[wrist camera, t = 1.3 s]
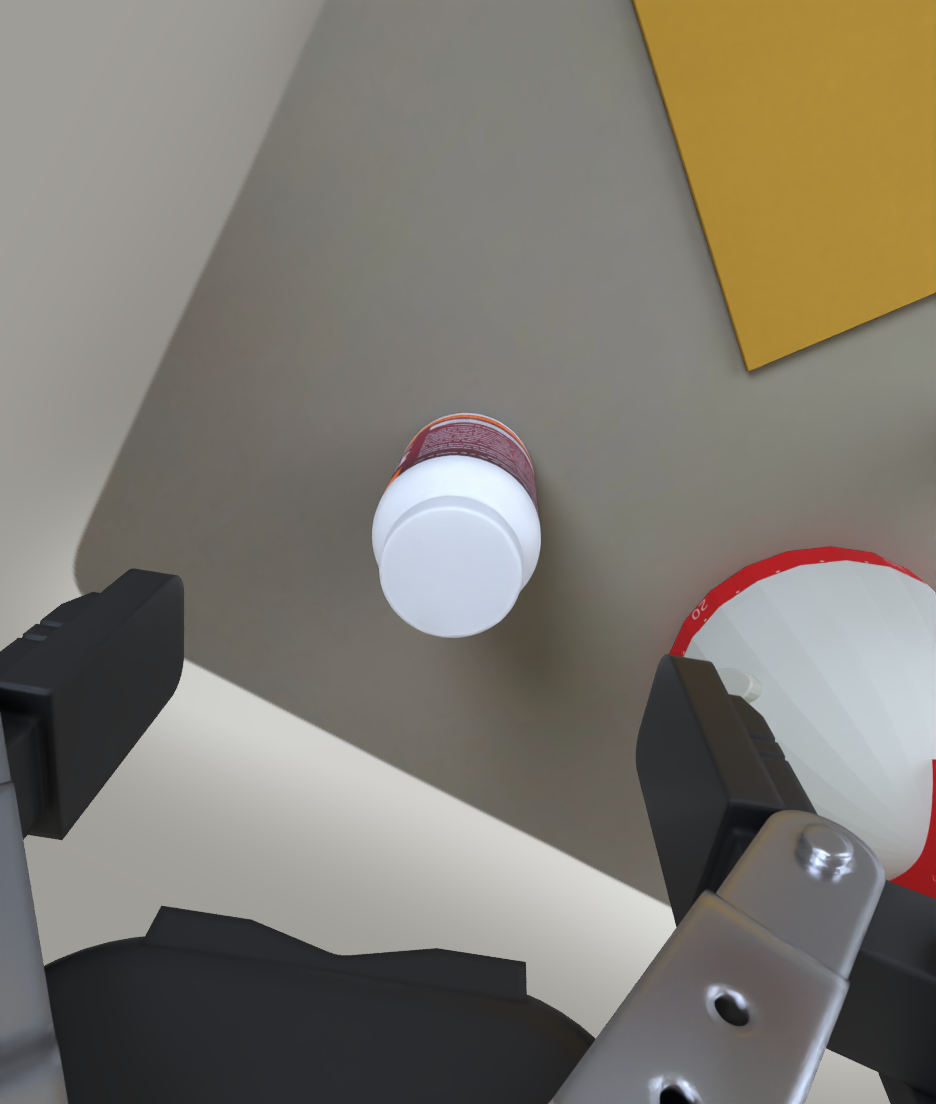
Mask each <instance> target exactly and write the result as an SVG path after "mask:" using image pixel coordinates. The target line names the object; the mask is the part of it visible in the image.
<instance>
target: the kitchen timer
mask: <svg viewBox="0 0 936 1104" xmlns="http://www.w3.org/2000/svg"><path fill="white" fill-rule="evenodd" d="M669 655H674V656H680V657H686V658H693V659H699V660H705V661H710V662H712V663H713V665H714V666H715V668H716V670H717V672H718V674H719V676H720V678H721V680H722V682H723V684H724V686H725V688H726V690H727V692H728V694H732V695H738V696H741V697H742V698H743V699H744V700H745V701H747V702H748V703H749V704H750V705H751V706H752V707H753V708H754V709H755V710H757V711H758V712H759V713H760V714H761V715H762V716H763V717H764V719H765V721H766V722H767V724H768V726H769V728H770V729H771V731H772V733H773V735H774V737H775V742H778V744H779V746H780V747H781V749H782V751H783V753H784V755H785V760H786V761H788V762H789V764H790V765H791V767H792V769H793V771H794V773H795V774H796V776H797V778H798V780H799V782H800V783H801V785H802V787H803V789H804V791H805V792H806V794H807V796H808V798H809V800H810V801H811V803H812V805H813V807H814V808H815V810H816V812H817V814H818V815H820V816H822V817H825V818H827V819H830V820H832V821H834V822H836V823H838V824H840V825H841V826H843V827H845V828H846V829H848V830H849V831H851V832H852V833H854V834H855V835H856V836H858V837H859V838H860V839H861V840H862V841H864V842H865V843H866V844H867V845H868V846H869V847H870V848H871V849H872V851H873V852H874V853H875V854H876V856H877V857H878V859H879V860H880V862H881V864H882V866H883V869H884V871H885V878H886V880H888V881H891V882H893V883H896V884H898V885H900V886H903V887H905V888H908V889H911V890H913V891H916V892H919V893H921V894H924V895H926V896H929V897H932V898H934V899H936V593H935V592H934V591H933V590H932V589H931V588H930V587H929V586H928V585H927V584H926V583H925V582H923V581H922V580H921V579H919V578H918V577H917V576H916V575H914V574H913V573H912V572H910V571H909V570H908V569H906V568H904V567H902V566H899V565H897V564H895V563H893V562H891V561H889V560H887V559H885V558H882V557H880V556H878V555H876V554H874V553H871V552H864V551H857V550H851V549H844V548H837V547H822V548H813V549H804V550H795V551H787V552H784V553H782V554H779V555H776V556H774V557H771V558H768V559H766V560H763V561H760V562H757V563H755V564H752V565H749V566H747V567H745V568H743V569H742V570H740V571H739V572H738V573H736V574H735V575H733V576H732V577H730V578H729V579H727V580H726V581H724V582H723V583H722V584H720V585H719V586H717V587H716V588H714V589H713V590H711V591H710V592H709V593H708V595H707V596H706V597H705V598H704V599H703V600H702V601H701V603H700V604H699V605H698V606H697V607H696V608H695V610H694V611H693V612H692V613H691V614H690V615H689V617H688V618H687V619H686V620H685V621H684V623H683V625H682V628H681V630H680V632H679V634H678V636H677V638H676V641H675V643H674V645H673V647H672V649H671V652H670V654H669Z"/></svg>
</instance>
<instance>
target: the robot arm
mask: <svg viewBox="0 0 936 1104" xmlns="http://www.w3.org/2000/svg"><path fill="white" fill-rule="evenodd" d="M183 661H184V586H183V582H182V579H181V578H180V577H179V576H178V575H171V574H165V573H159V572H153V571H146V570H140V569H130V570H128V571H127V572H126V573H124V574H123V575H122V576H121V577H119V578H118V579H117V580H116V581H115V582H113V583H112V584H111V585H110V586H109V587H107V588H106V589H105V590H104V591H102V592H101V593H96V592H91V593H89V594H86V595H84V596H81V597H79V598H76V599H73V600H71V601H68V602H66V603H63V604H61V605H60V606H59V607H57V608H56V609H55V610H53V611H52V612H51V613H50V614H48V615H47V616H46V617H44V618H43V619H42V620H41V622H40V624H35V625H34V626H33V627H32V628H30V629H29V630H28V631H27V632H25V633H24V634H23V637H22V638H17V639H16V640H15V641H14V642H12V643H11V644H10V645H8V646H7V647H6V648H5V649H3V650H2V651H1V652H0V1104H804V1103H805V1101H806V1098H807V1095H808V1093H809V1090H810V1087H811V1085H812V1082H813V1080H814V1077H815V1074H816V1072H817V1070H818V1067H819V1064H820V1061H821V1059H822V1057H823V1054H824V1051H825V1049H826V1048H827V1049H829V1050H831V1051H833V1052H835V1053H838V1054H840V1055H842V1056H844V1057H847V1058H849V1059H851V1060H853V1061H855V1062H857V1063H860V1064H862V1065H864V1066H866V1067H868V1068H870V1069H873V1070H875V1071H877V1072H878V1073H879V1076H880V1078H881V1081H882V1083H883V1086H884V1088H885V1091H886V1093H887V1096H888V1098H889V1101H890V1103H891V1104H936V899H934V898H932V897H929V896H926V895H924V894H921V893H919V892H916V891H913V890H911V889H908V888H905V887H903V886H900V885H898V884H896V883H893V882H891V881H888V880H886V878H885V871H884V869H883V866H882V864H881V862H880V860H879V859H878V857H877V856H876V854H875V853H874V852H873V851H872V849H871V848H870V847H869V846H868V845H867V844H866V843H865V842H864V841H862V840H861V839H860V838H859V837H858V836H856V835H855V834H854V833H852V832H851V831H849V830H848V829H846V828H845V827H843V826H841V825H840V824H838V823H836V822H834V821H832V820H830V819H827V818H825V817H822V816H820V815H818V814H817V812H816V810H815V808H814V807H813V805H812V803H811V801H810V800H809V798H808V796H807V794H806V792H805V791H804V789H803V787H802V785H801V783H800V782H799V780H798V778H797V776H796V774H795V773H794V771H793V769H792V767H791V765H790V764H789V762H788V761H786V760H785V755H784V753H783V751H782V749H781V747H780V746H779V744H778V742H775V737H774V735H773V733H772V731H771V729H770V728H769V726H768V724H767V722H766V721H765V719H764V717H763V716H762V715H761V714H760V713H759V712H758V711H757V710H755V709H754V708H753V707H752V706H751V705H750V704H749V703H748V702H747V701H745V700H744V699H743V698H742V697H741V696H738V695H732V694H728V692H727V690H726V688H725V686H724V684H723V682H722V680H721V678H720V676H719V674H718V672H717V670H716V668H715V666H714V665H713V663H712V662H710V661H705V660H699V659H693V658H686V657H680V656H674V655H667V654H666V655H664V656H663V657H662V659H661V661H660V663H659V665H658V668H657V671H656V675H655V678H654V682H653V685H652V688H651V692H650V695H649V699H648V702H647V706H646V709H645V713H644V716H643V719H642V723H641V726H640V730H639V734H638V739H637V746H636V767H637V773H638V776H639V780H640V784H641V788H642V792H643V796H644V800H645V804H646V808H647V812H648V816H649V820H650V824H651V828H652V832H653V836H654V840H655V844H656V848H657V852H658V856H659V860H660V864H661V868H662V872H663V876H664V880H665V884H666V888H667V892H668V895H669V899H670V903H671V907H672V911H673V915H674V919H675V923H676V927H677V928H676V929H675V931H674V932H673V933H672V935H671V936H670V938H669V939H668V940H667V942H666V943H665V944H664V946H663V947H662V949H661V950H660V951H659V953H658V954H657V955H656V957H655V958H654V960H653V961H652V962H651V964H650V965H649V966H648V968H647V969H646V971H645V972H644V973H643V975H642V976H641V978H640V979H639V980H638V982H637V983H636V984H635V986H634V987H633V989H632V990H631V991H630V993H629V994H628V995H627V997H626V998H625V1000H624V1001H623V1002H622V1004H621V1005H620V1006H619V1008H618V1009H617V1011H616V1012H615V1013H614V1015H613V1016H612V1017H611V1019H610V1020H609V1022H608V1023H607V1024H606V1026H605V1027H604V1028H603V1030H602V1031H601V1033H600V1034H599V1035H598V1037H597V1038H596V1039H595V1038H594V1037H593V1036H592V1035H591V1034H589V1033H588V1032H587V1031H586V1030H585V1029H584V1028H582V1027H581V1026H580V1025H579V1024H577V1023H576V1022H575V1021H573V1020H572V1019H570V1018H569V1017H567V1016H566V1015H565V1014H563V1013H562V1012H560V1011H559V1010H557V1009H555V1008H553V1007H551V1006H549V1005H548V1004H546V1003H544V1002H542V1001H541V1000H538V999H536V998H534V997H532V996H529V995H527V994H526V993H527V992H526V962H522V961H515V960H509V959H502V958H496V957H490V956H483V955H477V954H470V953H464V952H457V951H451V950H444V949H437V948H435V949H423V950H410V951H398V952H385V953H374V954H362V955H350V956H349V955H346V956H345V955H336V954H333V953H329V952H327V951H325V950H322V949H320V948H318V947H315V946H313V945H311V944H308V943H306V942H303V941H301V940H299V939H296V938H294V937H291V936H289V935H287V934H284V933H282V932H279V931H277V930H275V929H272V928H270V927H267V926H265V925H263V924H260V923H258V922H256V921H253V920H250V919H244V918H237V917H231V916H223V915H217V914H210V913H204V912H198V911H191V910H185V909H179V908H172V907H166V906H161V908H160V910H159V911H158V913H157V915H156V917H155V919H154V921H153V923H152V925H151V926H150V928H149V930H148V932H147V934H146V936H145V937H135V938H128V939H123V940H118V941H112V942H107V943H104V944H100V945H97V946H93V947H90V948H86V949H83V950H80V951H78V952H75V953H73V954H70V955H67V956H65V957H62V958H60V959H57V960H55V961H53V962H51V963H49V964H47V965H45V966H44V965H43V959H42V953H41V947H40V940H39V934H38V928H37V922H36V916H35V910H34V903H33V898H32V892H31V885H30V879H29V873H28V867H27V861H26V854H25V849H24V842H23V840H24V838H25V837H26V836H27V835H33V836H39V837H46V838H52V839H59V840H63V838H64V837H65V836H66V834H67V833H68V832H69V830H70V829H71V828H72V827H73V825H74V824H75V823H76V821H77V820H78V819H79V817H80V816H81V814H82V813H83V812H84V811H85V809H86V808H87V807H88V806H89V804H90V803H91V802H92V800H93V799H94V797H95V796H96V795H97V794H98V793H99V791H100V790H101V788H102V787H103V786H104V784H105V783H106V782H107V781H108V779H109V778H110V777H111V775H112V774H113V773H114V772H115V770H116V769H117V768H118V766H119V765H120V764H121V762H122V761H123V760H124V759H125V757H126V756H127V755H128V753H129V752H130V751H131V749H132V748H133V747H134V745H135V744H136V743H137V742H138V740H139V739H140V738H141V736H142V735H143V733H144V732H145V731H146V730H147V728H148V727H149V726H150V725H151V723H152V722H153V721H154V719H155V718H156V717H157V715H158V714H159V713H160V711H161V710H162V708H164V706H165V705H166V704H167V702H168V701H169V700H170V698H171V697H172V696H173V694H174V692H175V690H176V688H177V686H178V683H179V681H180V677H181V673H182V668H183Z"/></svg>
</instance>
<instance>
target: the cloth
mask: <svg viewBox="0 0 936 1104" xmlns="http://www.w3.org/2000/svg"><path fill="white" fill-rule="evenodd" d="M632 2H633V5H634V8H635V12H636V15H637V18H638V21H639V25H640V28H641V31H642V34H643V37H644V41H645V44H646V47H647V50H648V54H649V57H650V60H651V63H652V67H653V70H654V73H655V76H656V79H657V83H658V86H659V89H660V92H661V96H662V99H663V102H664V105H665V108H666V112H667V115H668V118H669V121H670V125H671V128H672V131H673V134H674V138H675V141H676V144H677V147H678V150H679V154H680V157H681V160H682V163H683V167H684V170H685V173H686V176H687V179H688V183H689V186H690V189H691V192H692V196H693V199H694V202H695V205H696V209H697V212H698V215H699V218H700V221H701V225H702V228H703V231H704V234H705V238H706V241H707V244H708V247H709V250H710V254H711V257H712V260H713V263H714V267H715V270H716V273H717V276H718V280H719V283H720V286H721V289H722V292H723V296H724V299H725V302H726V305H727V309H728V312H729V315H730V318H731V321H732V325H733V328H734V331H735V334H736V338H737V341H738V344H739V347H740V351H741V354H742V357H743V360H744V363H745V367H746V370H747V371H751V370H754V369H756V368H758V367H761V366H763V365H766V364H768V363H770V362H773V361H775V360H777V359H780V358H782V357H785V356H787V355H789V354H792V353H794V352H796V351H799V350H801V349H804V348H806V347H808V346H811V345H813V344H815V343H818V342H820V341H823V340H825V339H827V338H830V337H832V336H834V335H837V334H839V333H841V332H844V331H846V330H849V329H851V328H853V327H856V326H858V325H860V324H863V323H865V322H868V321H870V320H872V319H875V318H877V317H879V316H882V315H884V314H887V313H889V312H891V311H894V310H896V309H898V308H901V307H903V306H906V305H908V304H910V303H913V302H915V301H917V300H920V299H922V298H925V297H927V296H929V295H932V294H934V293H936V0H632Z"/></svg>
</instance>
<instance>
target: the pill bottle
mask: <svg viewBox="0 0 936 1104" xmlns="http://www.w3.org/2000/svg"><path fill="white" fill-rule="evenodd" d="M372 544H373V550H374V555H375V558H376V561H377V564H378V566H379V572H380V581H381V586H382V589H383V592H384V594H385V597H386V599H387V601H388V602H389V604H390V605H391V607H392V608H393V610H394V611H395V612H396V613H397V614H398V615H399V616H400V617H401V618H402V619H403V620H404V621H405V622H407V623H408V624H409V625H411V626H413V627H414V628H416V629H418V630H420V631H422V632H425V633H427V634H430V635H434V636H439V637H446V638H459V637H467V636H471V635H475V634H478V633H481V632H483V631H485V630H488V629H489V628H491V627H493V626H494V625H496V624H497V623H498V622H500V621H501V620H502V619H503V618H504V617H505V616H506V615H507V614H508V613H509V611H510V610H511V608H512V607H513V605H514V604H515V602H516V600H517V598H518V595H519V592H520V591H521V590H522V589H523V588H524V586H525V585H526V584H527V582H528V581H529V579H530V578H531V576H532V574H533V572H534V570H535V567H536V565H537V561H538V558H539V553H540V547H541V531H540V517H539V510H538V500H537V492H536V483H535V473H534V468H533V464H532V461H531V458H530V456H529V454H528V452H527V450H526V448H525V446H524V444H523V443H522V441H521V440H520V439H519V437H518V436H517V435H516V434H515V433H514V432H513V431H512V430H511V429H510V428H508V427H507V426H505V425H504V424H502V423H501V422H499V421H497V420H495V419H493V418H490V417H487V416H484V415H480V414H473V413H458V414H452V415H448V416H445V417H442V418H439V419H437V420H435V421H433V422H431V423H430V424H428V425H427V426H425V427H424V428H423V429H422V430H421V431H419V432H418V433H417V435H416V436H415V437H414V438H413V439H412V441H411V442H410V444H409V445H408V447H407V448H406V450H405V452H404V454H403V456H402V458H401V460H400V462H399V464H398V466H397V468H396V470H395V472H394V474H393V476H392V478H391V480H390V482H389V484H388V486H387V488H386V490H385V492H384V494H383V496H382V498H381V500H380V503H379V505H378V508H377V510H376V513H375V517H374V520H373V527H372Z"/></svg>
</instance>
